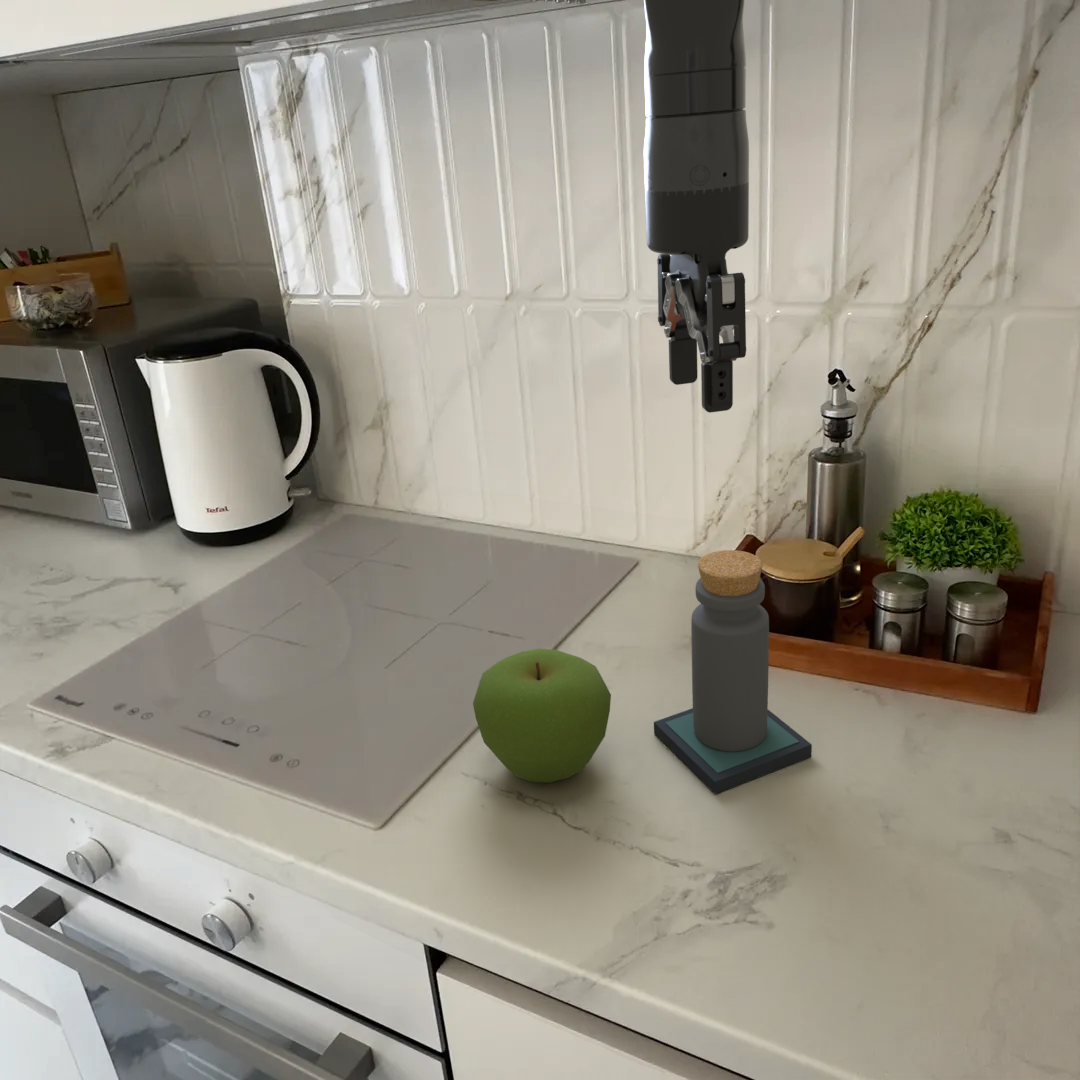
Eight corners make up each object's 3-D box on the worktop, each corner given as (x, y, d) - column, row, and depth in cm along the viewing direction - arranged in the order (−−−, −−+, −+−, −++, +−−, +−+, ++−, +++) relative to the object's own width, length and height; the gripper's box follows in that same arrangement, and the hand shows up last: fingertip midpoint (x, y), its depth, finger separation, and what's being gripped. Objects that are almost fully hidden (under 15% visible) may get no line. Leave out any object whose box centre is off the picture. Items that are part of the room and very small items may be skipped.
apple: (641, 774, 76) (636, 665, 72) (529, 831, 71) (516, 718, 67) (563, 712, 85) (555, 612, 81) (458, 760, 80) (443, 655, 76)
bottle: (709, 703, 82) (708, 541, 76) (777, 720, 79) (781, 553, 73) (681, 741, 78) (677, 572, 71) (752, 760, 75) (754, 586, 69)
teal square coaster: (744, 701, 84) (744, 688, 84) (811, 756, 77) (812, 743, 76) (653, 733, 81) (653, 720, 81) (715, 794, 73) (714, 780, 73)
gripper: (783, 182, 65) (778, 414, 72) (713, 171, 78) (715, 369, 85) (675, 193, 64) (680, 427, 71) (622, 180, 77) (631, 379, 84)
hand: (699, 395), depth 78 cm, fingers open, 8 cm apart
